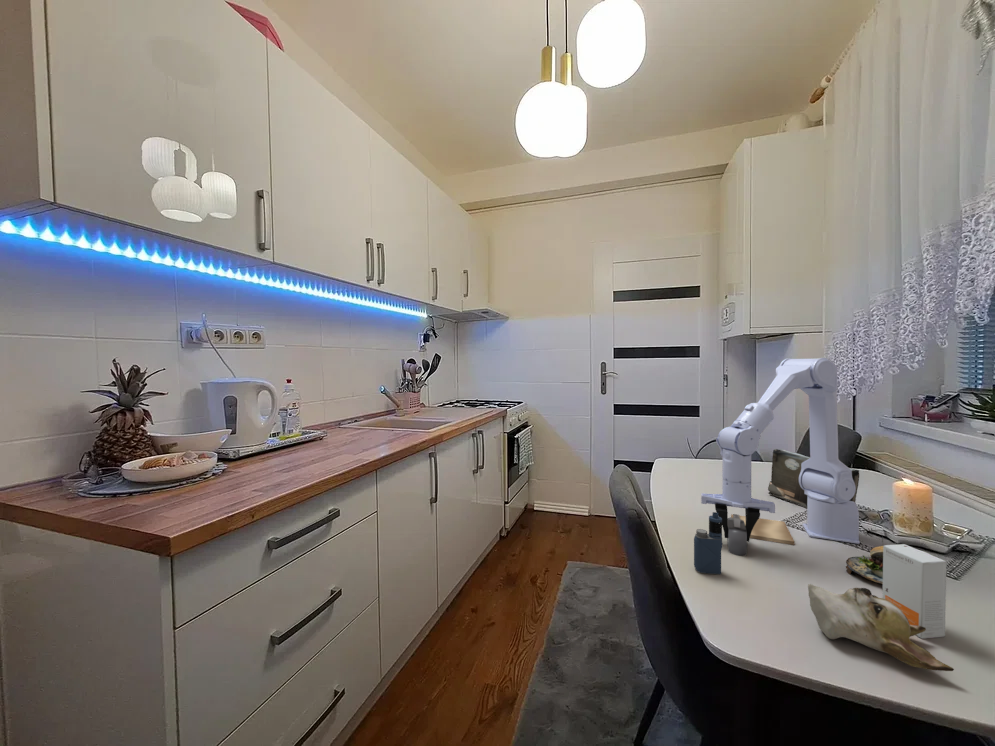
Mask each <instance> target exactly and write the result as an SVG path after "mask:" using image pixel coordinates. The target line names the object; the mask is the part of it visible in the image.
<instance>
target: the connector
mask: <svg viewBox="0 0 995 746" xmlns="http://www.w3.org/2000/svg"><path fill="white" fill-rule="evenodd" d="M732 515H733V518H731V517H728V520H727V526H728V538H726V540H727V541H726V542H727V547H728V548H727V549H728V552H729V553H731V554H733V555H736V556H741V557H743V556H747V554H748V553H747V552H748V548H747V546H748V542H747V530H746V527H745V523H744V521H743V520H741V519H740V516H741V515H740V514H735V513H734V514H732ZM739 515H740V516H739Z"/></svg>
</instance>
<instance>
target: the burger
mask: <svg viewBox="0 0 995 746" xmlns="http://www.w3.org/2000/svg"><path fill="white" fill-rule="evenodd" d="M881 538H882V539H881V540H882V541H881V543H882V544H884V539H883V538H884V537H883V536H882V537H881ZM883 546H884V545H881V546H875V547H873V548H871V549H870V551H869V554H870V556H865V555H862V556H850V557H848V558H847V559H846V561H845V563H846V566H845V569H846V570H845V571H846V572H847V574H848V575H852V572H854V573H856V574H858V575H859V576H861V577H863V578H865V579H867V580H869V581H872V582H875V583H878V584H880V585H883Z"/></svg>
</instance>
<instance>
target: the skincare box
mask: <svg viewBox="0 0 995 746" xmlns="http://www.w3.org/2000/svg"><path fill="white" fill-rule="evenodd" d="M882 546H883V584H882V592H881V593H882V597H881V598H884V599H887V600H888V601H890V602H892V603H893V604H894V605H895V606H897V607H898V608H899V609H900V610H901V611H902V612H903V614H904V615H905V616H906V618H907V619H908V622H909V624H910V625H918V626H922V627H925V628H926V630H925V631H924V632H921V633H919V634H917V635H916V637H918V638H919V639H922V640H924V639H931V638H932V639H935V638H944V637H945V636H946V607H947V606H946V603H947V602H946V601H947V599H946V597H947V596H946V595H947V561H946V560H944V559H942V558H940V557H939V558H938V557H937V556H935V555H932V554H931V553H928V552H926V551H923V550H919V549H917V548H915V547H913V546H910V545H908V544H904V543H902V544H886V545H884V544H883V545H882Z"/></svg>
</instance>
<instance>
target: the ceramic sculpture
mask: <svg viewBox="0 0 995 746" xmlns="http://www.w3.org/2000/svg"><path fill="white" fill-rule="evenodd" d="M807 588H808V589H807V590H808V598H809V606H810V609H811V611H812V612H811V613H813V616H814V618H815V620H816V623H817V626H818V629H820V631H821V632H822V633H823V634H824V635H825V636H826V638H828V639H829V640H836V639H839V638H846V639H849V640H851V641H854V642H857V643H858V644H861V645H864V646H866V647H868V648H870V649H873V650H876V651H879V652H882V653H885V654H888V655H889V656H891V657H894V658H895V659H897V660H898V661H901V663H904V664H907V665H908V666H910V667H914V668H918V669H919V668H920V669H924V670H930V671H939V672H941V671H943V672H944V671H945V672H953V671H954V670H955V668H953V667H952V666H950V665H948V664H946V663H943V662H942V661H940V660H938V659H937V658H936V657H935V656H934V655H933V654H931V653H930V651H928V650H927V649H925V648H924V647H921V646H919V645H918V644H916V643H914V642H913V641H911V639H910V638H912V637H914V636H917V634H919V633H921V632H924V631H925V630H926V628H925V627H922V626H918V625H910V624H909V622H908V619H907V618H906V616H905V615H904V614H903V612H902V611H901V610H900V609H899V608H898V607H897V606H895V605H894V604H893V603H892V602H890V601H888V600H887V599H884V598H882V597H878V596H877V595H874V594H872V591H871V590H870V589H869V588H865V587H853V588H848V589H847V590H846V591H845V592H844V593H835V592H832V591H830V590H827V589H825V588H824V587H821V586H818V585H817V586H816V585H814V584H812V583H810V584H808V585H807Z"/></svg>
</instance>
